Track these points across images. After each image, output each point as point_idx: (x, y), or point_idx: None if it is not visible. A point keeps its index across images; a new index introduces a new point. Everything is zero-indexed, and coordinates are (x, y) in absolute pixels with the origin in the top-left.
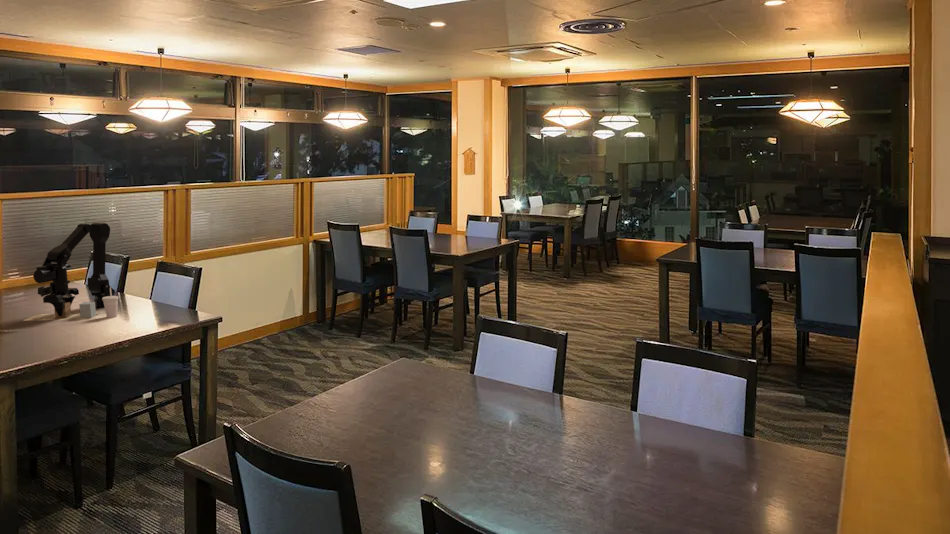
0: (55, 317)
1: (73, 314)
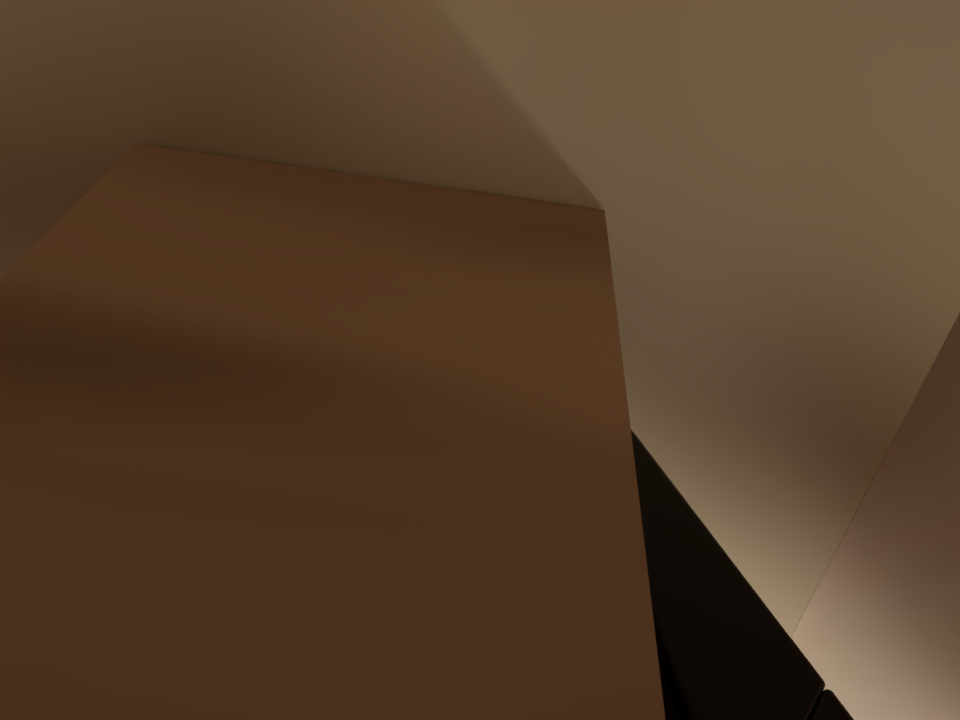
0: (121, 167)
1: (732, 543)
